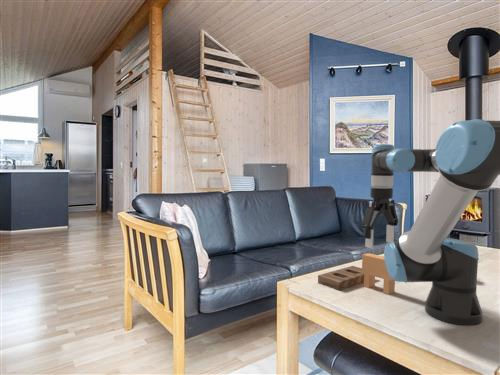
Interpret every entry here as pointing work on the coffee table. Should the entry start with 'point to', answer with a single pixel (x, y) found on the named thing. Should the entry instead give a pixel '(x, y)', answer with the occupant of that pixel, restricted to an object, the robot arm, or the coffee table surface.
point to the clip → (376, 272)
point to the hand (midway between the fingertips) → (379, 244)
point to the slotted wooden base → (342, 278)
